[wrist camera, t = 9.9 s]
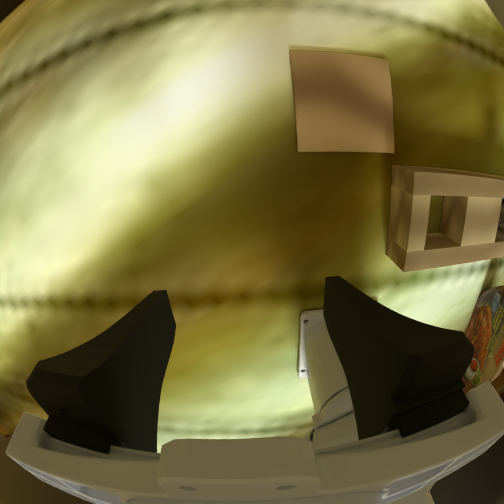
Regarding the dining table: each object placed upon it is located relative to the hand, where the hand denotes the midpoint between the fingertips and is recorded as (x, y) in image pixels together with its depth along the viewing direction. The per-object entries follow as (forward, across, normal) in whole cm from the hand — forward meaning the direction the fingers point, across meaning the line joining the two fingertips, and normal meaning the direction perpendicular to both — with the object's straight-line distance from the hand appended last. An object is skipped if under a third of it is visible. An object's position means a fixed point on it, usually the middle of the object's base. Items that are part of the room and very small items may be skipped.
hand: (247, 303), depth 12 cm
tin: (+10, -30, +16) cm, 36 cm away
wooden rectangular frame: (+10, -21, 0) cm, 24 cm away
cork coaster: (+10, -8, -10) cm, 16 cm away
